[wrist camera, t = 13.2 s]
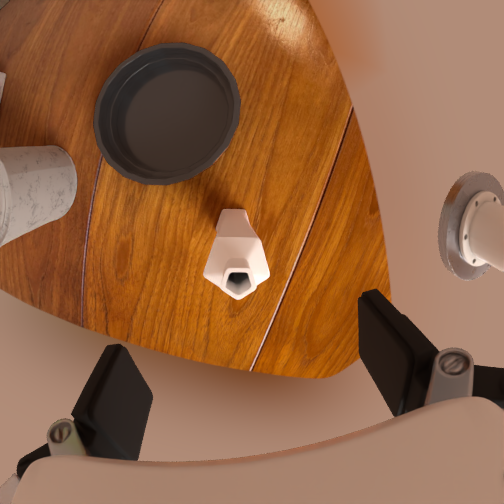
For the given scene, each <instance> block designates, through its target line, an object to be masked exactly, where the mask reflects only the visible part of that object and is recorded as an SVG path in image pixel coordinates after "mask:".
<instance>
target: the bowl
mask: <svg viewBox="0 0 504 504" xmlns="http://www.w3.org/2000/svg"><path fill="white" fill-rule="evenodd" d="M240 105H241V99H240V95H239V91H238V87H237V83H236V80H235V78H234V76H233V75H232V73H231V72H230V70H229V69H228V67H227V66H226V64H225V63H224V62H223V61H222V60H221V59H219V58H218V57H217V56H215V55H214V54H212V53H211V52H209V51H208V50H207V49H205V48H201V47H198V46H195V45H191V44H187V43H161V44H158V45H154V46H151V47H149V48H146V49H143V50H140V51H138V52H137V53H135V54H134V55H132V56H131V57H129V58H128V59H126V60H125V61H123V62H122V63H121V64H119V65H118V67H117V68H116V69H115V70H114V71H113V73H112V74H111V75H110V76H109V77H108V79H107V80H106V81H105V83H104V85H103V87H102V89H101V92H100V94H99V96H98V99H97V101H96V105H95V113H94V121H93V124H94V125H93V126H94V131H95V137H96V141H97V146H98V147H99V149H100V151H101V153H102V154H103V156H104V158H105V159H106V161H107V163H108V164H109V165H110V166H111V167H113V168H114V169H115V170H116V171H117V172H119V173H120V174H121V175H122V176H123V177H125V178H128V179H131V180H134V181H136V182H139V183H142V184H145V185H170V184H174V183H178V182H181V181H185V180H188V179H191V178H193V177H195V176H197V175H198V174H200V173H202V172H203V171H205V170H206V169H208V168H210V167H211V166H213V165H214V164H215V163H216V162H217V161H218V160H219V159H220V157H221V156H222V155H223V154H224V153H225V152H226V151H227V149H228V148H229V146H230V144H231V142H232V139H233V137H234V135H235V133H236V131H237V128H238V124H239V115H240Z"/></svg>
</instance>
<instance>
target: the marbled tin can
mask: <svg viewBox="0 0 504 504" xmlns="http://www.w3.org/2000/svg"><path fill="white" fill-rule="evenodd" d="M76 191H77V173H76V169H75V165H74V163H73V161H72V159H71V157H70V156H69V154H68V153H67V152H66V151H65V150H63V149H62V148H60V147H58V146H55V145H48V146H28V147H8V148H0V247H1V246H2V245H4V244H6V243H7V242H9V241H11V240H13V239H15V238H17V237H19V236H21V235H23V234H25V233H27V232H29V231H31V230H33V229H35V228H38V227H40V226H42V225H44V224H46V223H48V222H50V221H54V220H57V219H59V218H61V217H62V216H63V215H65V214H66V213H67V211H68V210H69V209H70V207H71V205H72V203H73V201H74V199H75V195H76Z"/></svg>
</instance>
